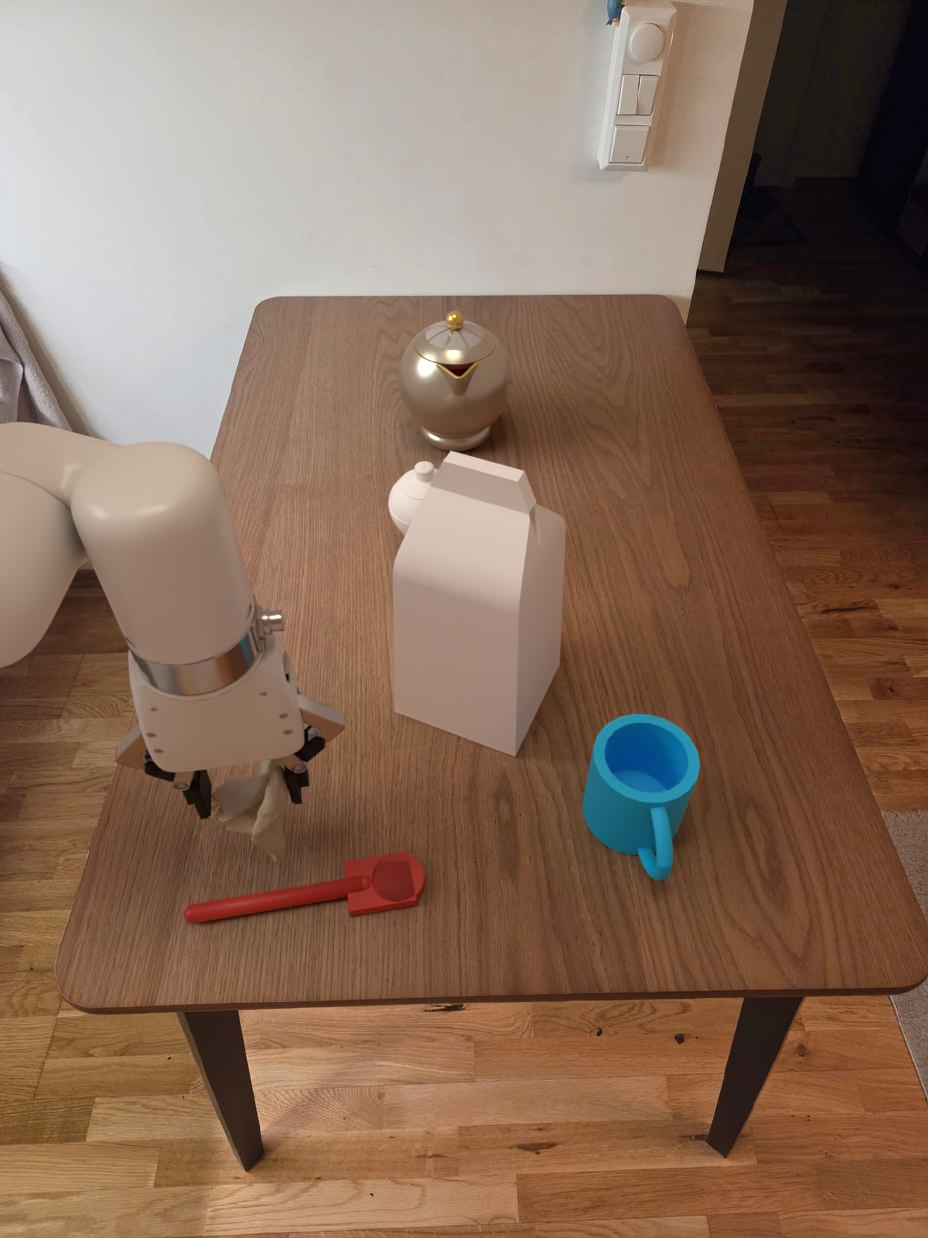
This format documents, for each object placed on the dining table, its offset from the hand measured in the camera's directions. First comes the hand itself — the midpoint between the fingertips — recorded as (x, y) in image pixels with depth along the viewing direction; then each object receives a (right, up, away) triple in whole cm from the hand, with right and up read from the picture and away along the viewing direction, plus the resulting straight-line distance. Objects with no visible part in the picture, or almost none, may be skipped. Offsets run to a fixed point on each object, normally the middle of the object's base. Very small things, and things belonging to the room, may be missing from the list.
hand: (251, 793), depth 65 cm
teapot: (+15, +38, +45) cm, 61 cm away
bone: (0, -3, +3) cm, 4 cm away
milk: (+17, +6, +17) cm, 25 cm away
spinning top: (+12, +20, +29) cm, 37 cm away
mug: (+30, -5, +7) cm, 31 cm away
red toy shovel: (+3, -9, +2) cm, 10 cm away
